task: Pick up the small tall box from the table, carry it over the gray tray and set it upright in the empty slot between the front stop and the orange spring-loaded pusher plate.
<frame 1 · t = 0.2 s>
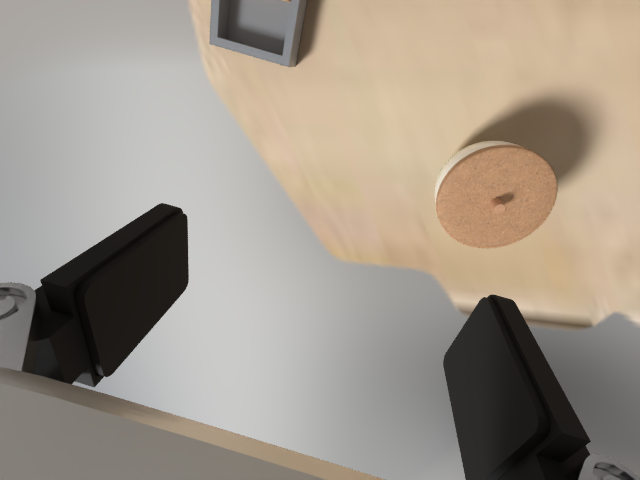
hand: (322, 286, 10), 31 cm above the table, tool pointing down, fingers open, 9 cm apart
lidded jar: (474, 176, 37), on the table
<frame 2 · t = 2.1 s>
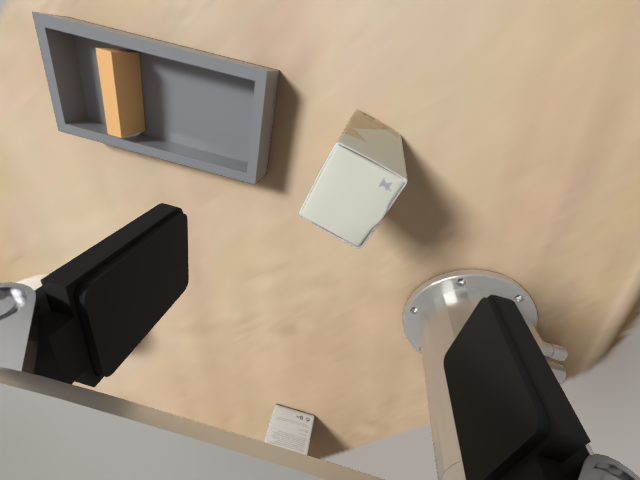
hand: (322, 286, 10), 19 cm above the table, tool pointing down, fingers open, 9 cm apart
box: (363, 149, 26), on the table
gray tray: (173, 100, 27), on the table
skincare box: (292, 422, 48), on the table
pusher: (123, 94, 25), point 2 cm above the table, slide at 0.0 cm
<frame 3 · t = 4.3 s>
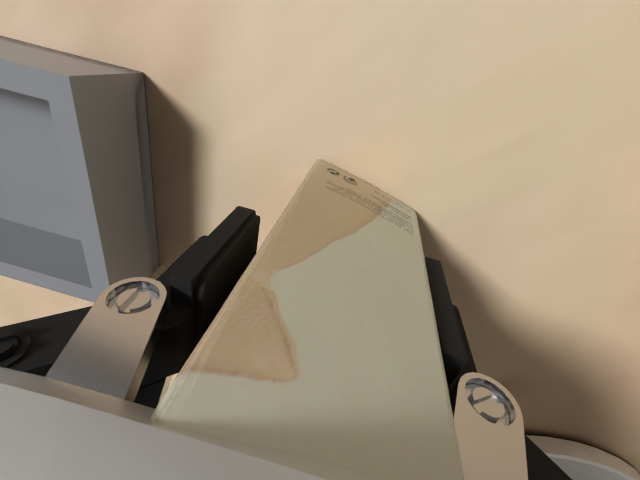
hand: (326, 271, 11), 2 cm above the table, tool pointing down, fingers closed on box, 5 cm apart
box: (337, 234, 13), on the table, touching gripper
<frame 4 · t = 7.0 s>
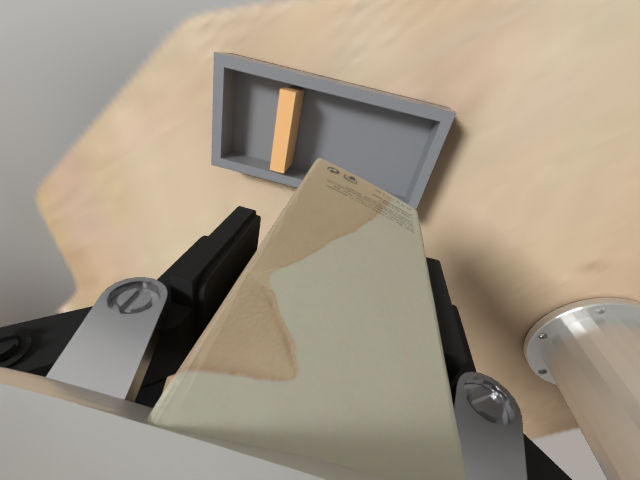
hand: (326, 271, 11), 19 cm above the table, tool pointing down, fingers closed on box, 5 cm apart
box: (338, 233, 13), point 17 cm above the table, touching gripper
gray tray: (326, 133, 27), on the table
pusher: (286, 130, 25), point 2 cm above the table, slide at 0.0 cm
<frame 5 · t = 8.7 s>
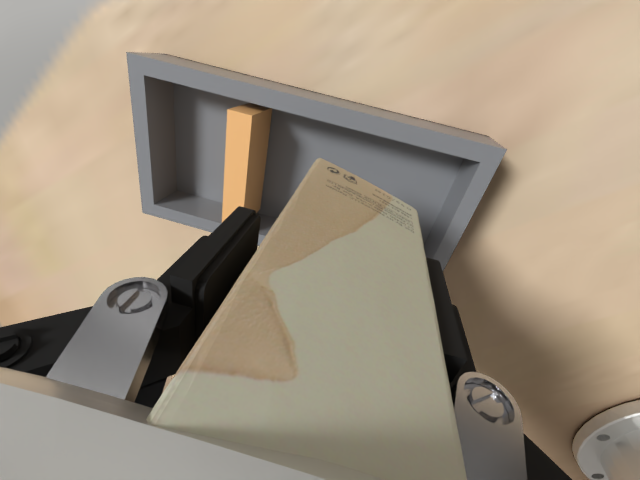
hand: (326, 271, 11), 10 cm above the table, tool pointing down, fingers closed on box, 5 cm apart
box: (338, 233, 13), point 7 cm above the table, touching gripper
gray tray: (307, 169, 19), on the table
pusher: (246, 167, 17), point 2 cm above the table, slide at 0.0 cm
when the fingers open (5 cm above the table, at t = 10.1 s): box drops 1 cm, resting on gray tray.
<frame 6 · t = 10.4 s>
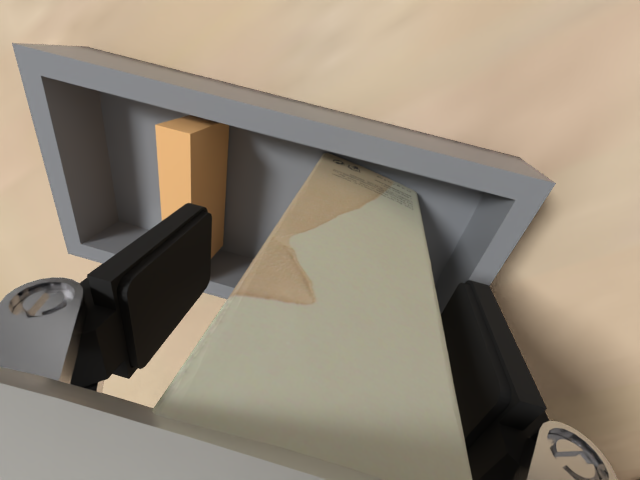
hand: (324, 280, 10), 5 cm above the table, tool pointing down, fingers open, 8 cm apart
box: (347, 220, 14), resting on gray tray
gray tray: (280, 197, 15), on the table
pusher: (196, 198, 13), point 2 cm above the table, slide at 0.0 cm
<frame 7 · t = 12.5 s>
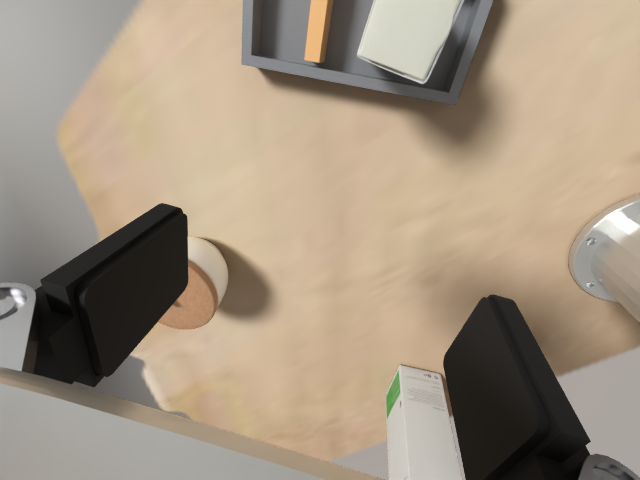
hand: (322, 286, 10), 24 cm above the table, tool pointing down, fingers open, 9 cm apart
box: (399, 32, 25), resting on gray tray
lidded jar: (202, 256, 42), on the table
gray tray: (359, 25, 26), on the table
skincare box: (412, 383, 48), on the table
pusher: (320, 15, 24), point 2 cm above the table, slide at 0.0 cm
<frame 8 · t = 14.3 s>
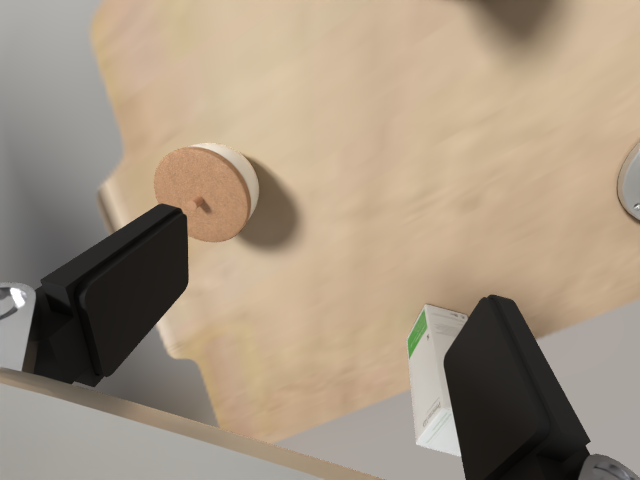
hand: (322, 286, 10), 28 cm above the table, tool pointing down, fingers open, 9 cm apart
lidded jar: (231, 176, 40), on the table
skincare box: (436, 327, 46), on the table
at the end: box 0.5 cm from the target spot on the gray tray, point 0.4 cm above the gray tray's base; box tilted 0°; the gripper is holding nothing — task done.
